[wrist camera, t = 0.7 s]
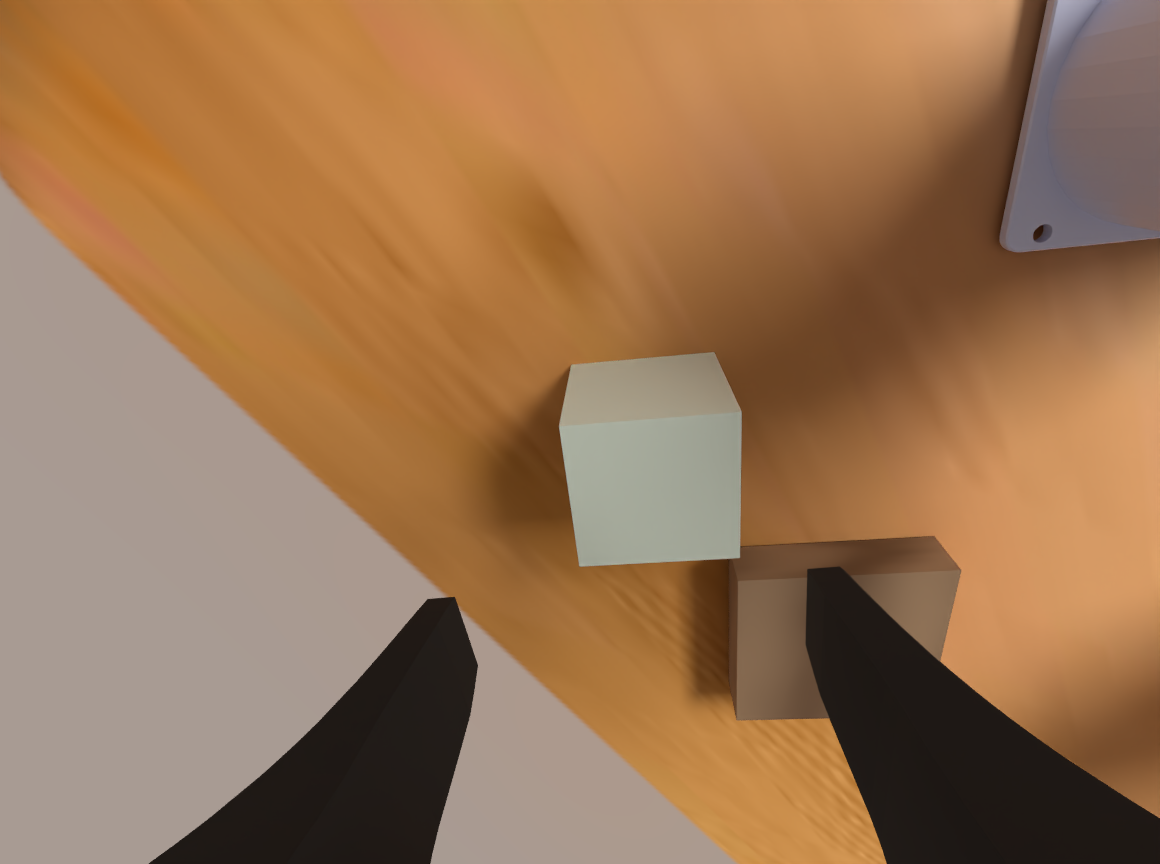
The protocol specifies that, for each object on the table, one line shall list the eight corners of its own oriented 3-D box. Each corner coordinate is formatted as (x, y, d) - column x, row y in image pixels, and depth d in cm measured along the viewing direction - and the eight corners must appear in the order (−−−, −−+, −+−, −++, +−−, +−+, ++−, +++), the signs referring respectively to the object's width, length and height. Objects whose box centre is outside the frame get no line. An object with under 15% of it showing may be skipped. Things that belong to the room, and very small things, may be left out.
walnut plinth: (934, 536, 23) (961, 570, 21) (906, 676, 26) (927, 715, 24) (728, 547, 24) (738, 580, 22) (728, 682, 27) (736, 720, 25)
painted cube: (714, 351, 20) (741, 412, 15) (714, 473, 22) (740, 558, 18) (571, 363, 20) (558, 426, 16) (586, 482, 23) (579, 566, 18)
